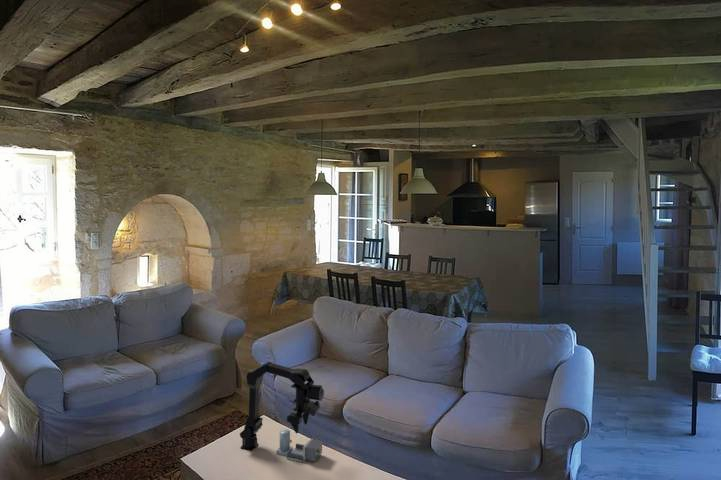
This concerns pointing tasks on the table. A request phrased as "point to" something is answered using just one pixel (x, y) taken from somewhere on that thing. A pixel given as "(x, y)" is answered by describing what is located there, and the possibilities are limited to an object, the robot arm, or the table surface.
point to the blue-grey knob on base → (284, 443)
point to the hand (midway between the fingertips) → (301, 428)
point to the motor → (306, 451)
